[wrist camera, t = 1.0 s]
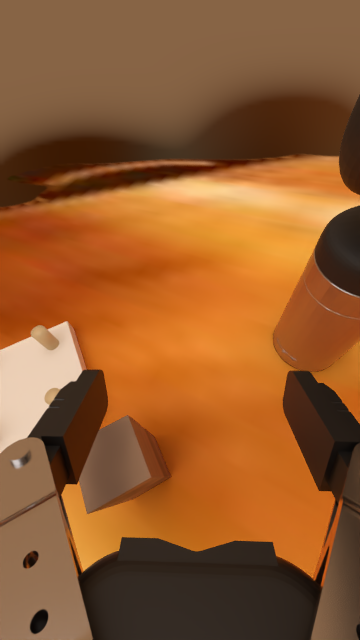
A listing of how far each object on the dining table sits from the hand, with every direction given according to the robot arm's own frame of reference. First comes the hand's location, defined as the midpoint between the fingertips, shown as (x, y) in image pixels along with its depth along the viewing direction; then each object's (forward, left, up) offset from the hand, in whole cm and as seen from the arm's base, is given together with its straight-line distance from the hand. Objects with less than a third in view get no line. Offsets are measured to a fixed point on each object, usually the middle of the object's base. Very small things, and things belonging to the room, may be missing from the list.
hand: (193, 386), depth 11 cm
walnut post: (+7, -1, -25) cm, 26 cm away
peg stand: (+18, -17, -25) cm, 35 cm away
